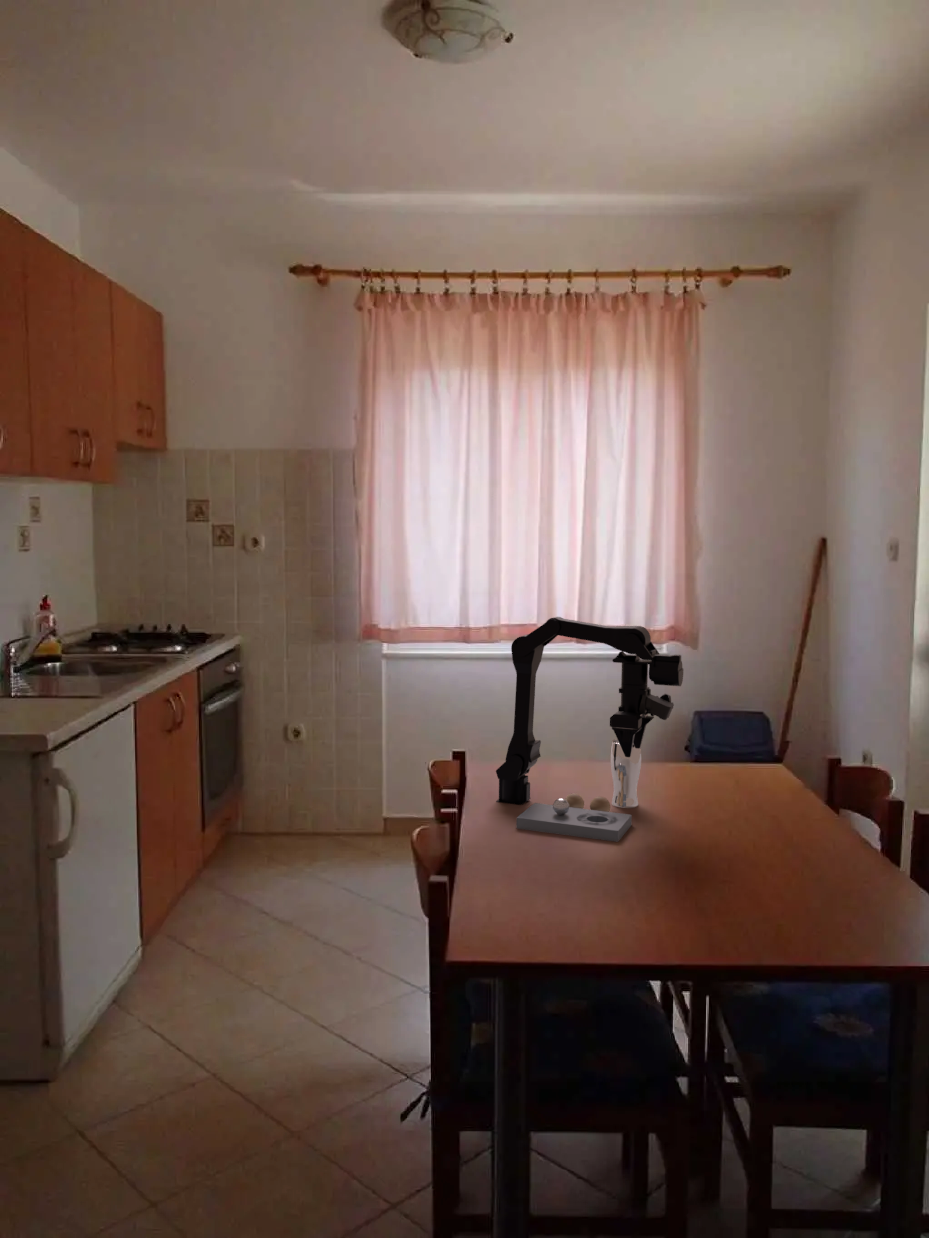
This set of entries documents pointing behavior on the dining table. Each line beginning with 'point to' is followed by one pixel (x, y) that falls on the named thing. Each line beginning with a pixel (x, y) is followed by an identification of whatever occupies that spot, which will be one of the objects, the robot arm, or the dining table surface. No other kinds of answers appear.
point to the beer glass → (625, 775)
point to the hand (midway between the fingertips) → (632, 752)
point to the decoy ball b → (600, 804)
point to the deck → (575, 822)
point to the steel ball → (561, 806)
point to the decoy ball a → (575, 800)
